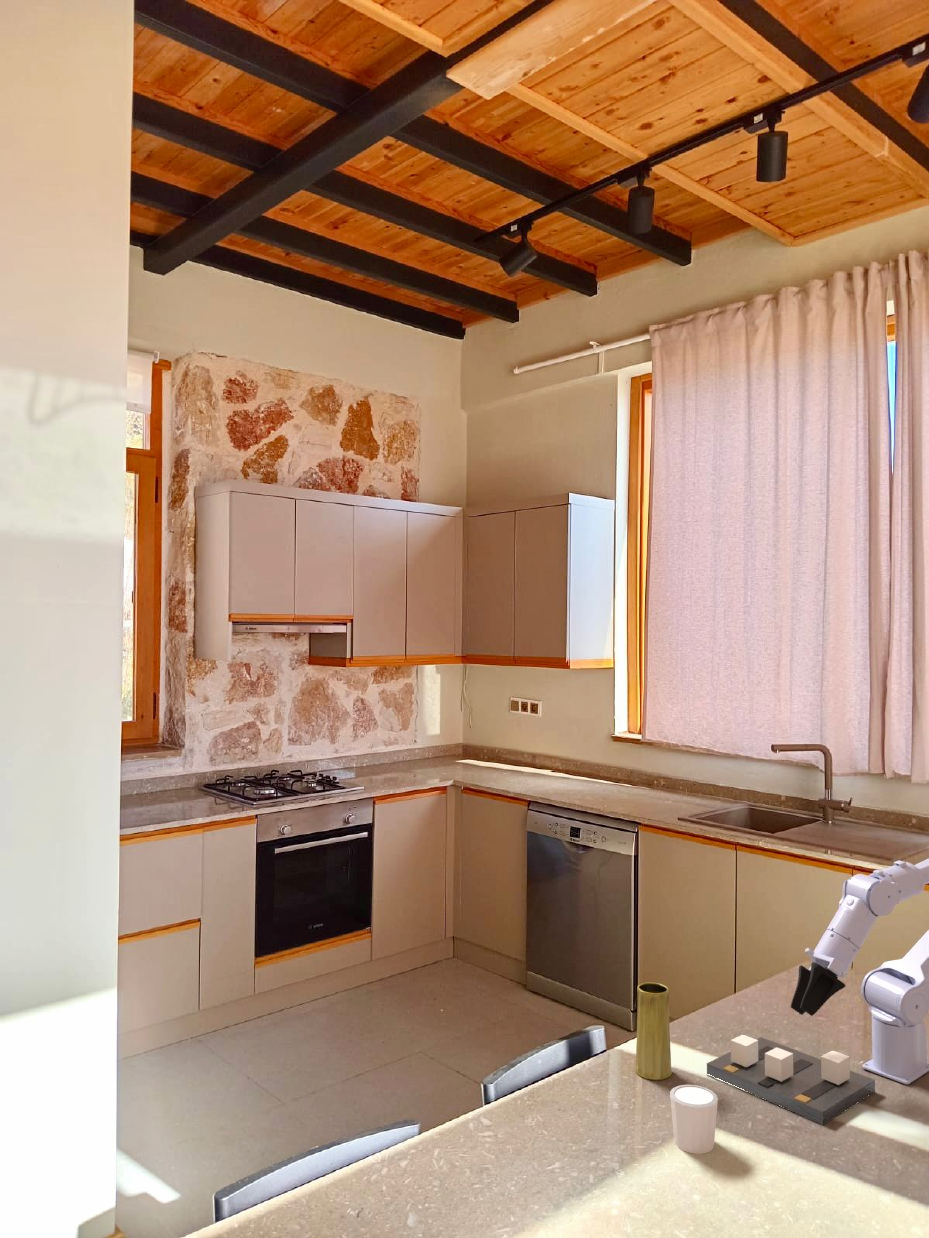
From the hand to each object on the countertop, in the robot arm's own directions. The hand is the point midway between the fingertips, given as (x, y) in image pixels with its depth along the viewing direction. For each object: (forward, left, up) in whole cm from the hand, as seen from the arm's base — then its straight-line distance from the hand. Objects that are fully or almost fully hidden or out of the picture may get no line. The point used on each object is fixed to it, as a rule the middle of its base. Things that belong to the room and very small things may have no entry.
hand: (800, 1011), depth 154 cm
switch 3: (-4, +4, -10) cm, 12 cm away
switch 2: (+2, -3, -10) cm, 11 cm away
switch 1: (+2, -9, -10) cm, 14 cm away
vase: (+13, -20, -13) cm, 27 cm away
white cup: (+26, -2, -13) cm, 30 cm away
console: (-1, -3, -13) cm, 13 cm away
